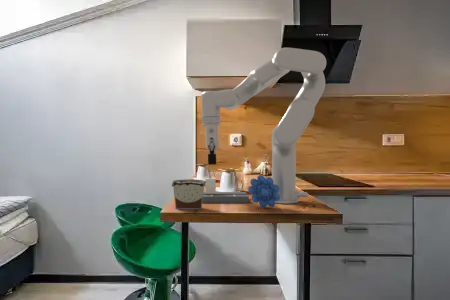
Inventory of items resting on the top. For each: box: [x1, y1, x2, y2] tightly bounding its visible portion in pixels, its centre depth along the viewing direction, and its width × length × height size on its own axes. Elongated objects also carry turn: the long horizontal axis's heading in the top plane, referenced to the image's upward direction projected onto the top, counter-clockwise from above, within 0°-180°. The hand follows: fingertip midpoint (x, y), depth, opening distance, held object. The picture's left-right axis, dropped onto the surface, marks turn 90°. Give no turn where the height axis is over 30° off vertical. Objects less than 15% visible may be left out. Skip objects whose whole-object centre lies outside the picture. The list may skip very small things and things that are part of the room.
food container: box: [171, 178, 206, 210], centre depth 130 cm, size 12×6×10 cm, turn 84°
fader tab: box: [205, 177, 217, 195], centre depth 145 cm, size 4×3×7 cm
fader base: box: [202, 191, 249, 204], centre depth 145 cm, size 19×12×3 cm, turn 92°
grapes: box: [247, 174, 280, 209], centre depth 129 cm, size 12×7×12 cm, turn 86°
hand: (212, 163), depth 145 cm, fingers open, 9 cm apart
